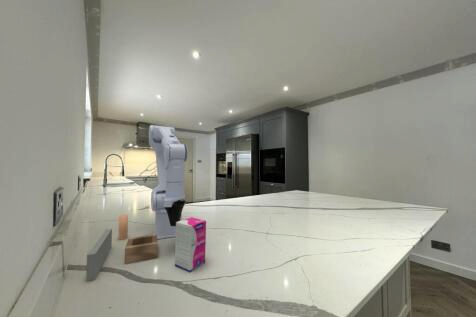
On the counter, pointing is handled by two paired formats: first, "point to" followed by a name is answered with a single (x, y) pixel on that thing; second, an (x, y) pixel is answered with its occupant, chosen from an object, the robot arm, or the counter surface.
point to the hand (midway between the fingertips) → (174, 225)
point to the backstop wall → (98, 254)
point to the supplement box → (190, 243)
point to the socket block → (141, 248)
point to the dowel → (123, 227)
